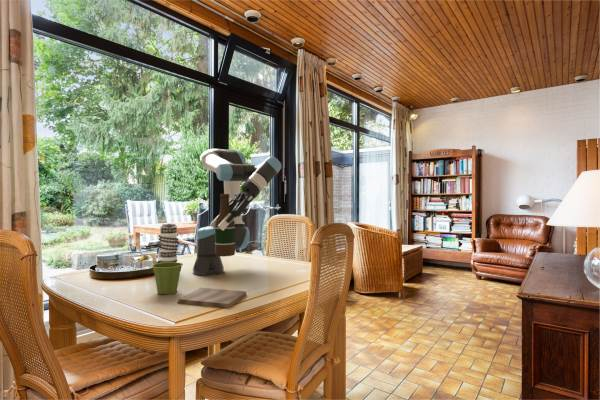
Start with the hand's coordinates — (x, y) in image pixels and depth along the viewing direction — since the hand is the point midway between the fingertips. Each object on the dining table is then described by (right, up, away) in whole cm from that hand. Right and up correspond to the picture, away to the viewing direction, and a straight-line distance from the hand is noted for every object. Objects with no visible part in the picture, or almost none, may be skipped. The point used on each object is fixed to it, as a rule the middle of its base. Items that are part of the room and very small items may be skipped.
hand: (216, 227), depth 131 cm
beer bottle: (+3, -11, +2) cm, 12 cm away
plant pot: (-21, -27, +6) cm, 35 cm away
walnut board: (-1, -27, -3) cm, 27 cm away
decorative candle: (-33, -26, +37) cm, 56 cm away
